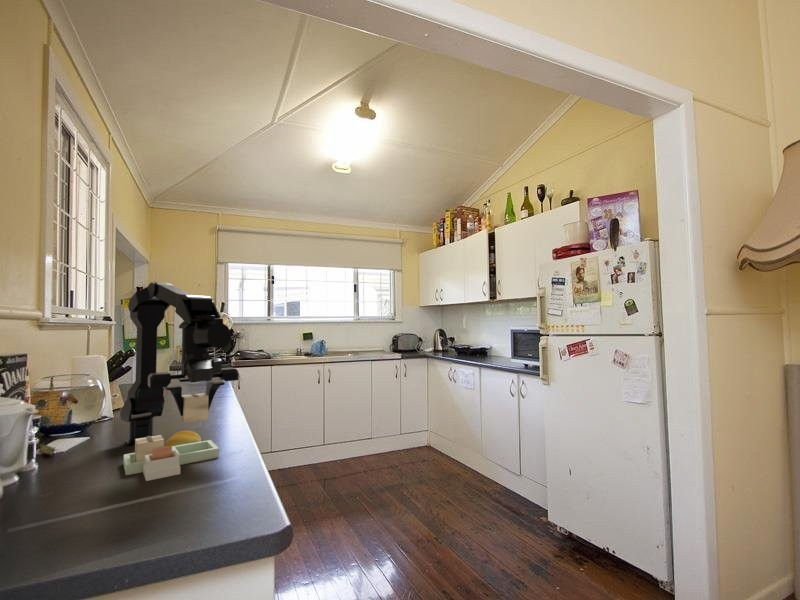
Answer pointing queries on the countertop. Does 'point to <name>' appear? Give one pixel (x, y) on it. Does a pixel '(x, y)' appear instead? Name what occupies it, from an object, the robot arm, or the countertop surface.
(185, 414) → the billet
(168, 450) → the button
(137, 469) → the pale green divided tray
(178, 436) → the bread roll
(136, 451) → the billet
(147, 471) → the button housing
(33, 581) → the countertop surface
